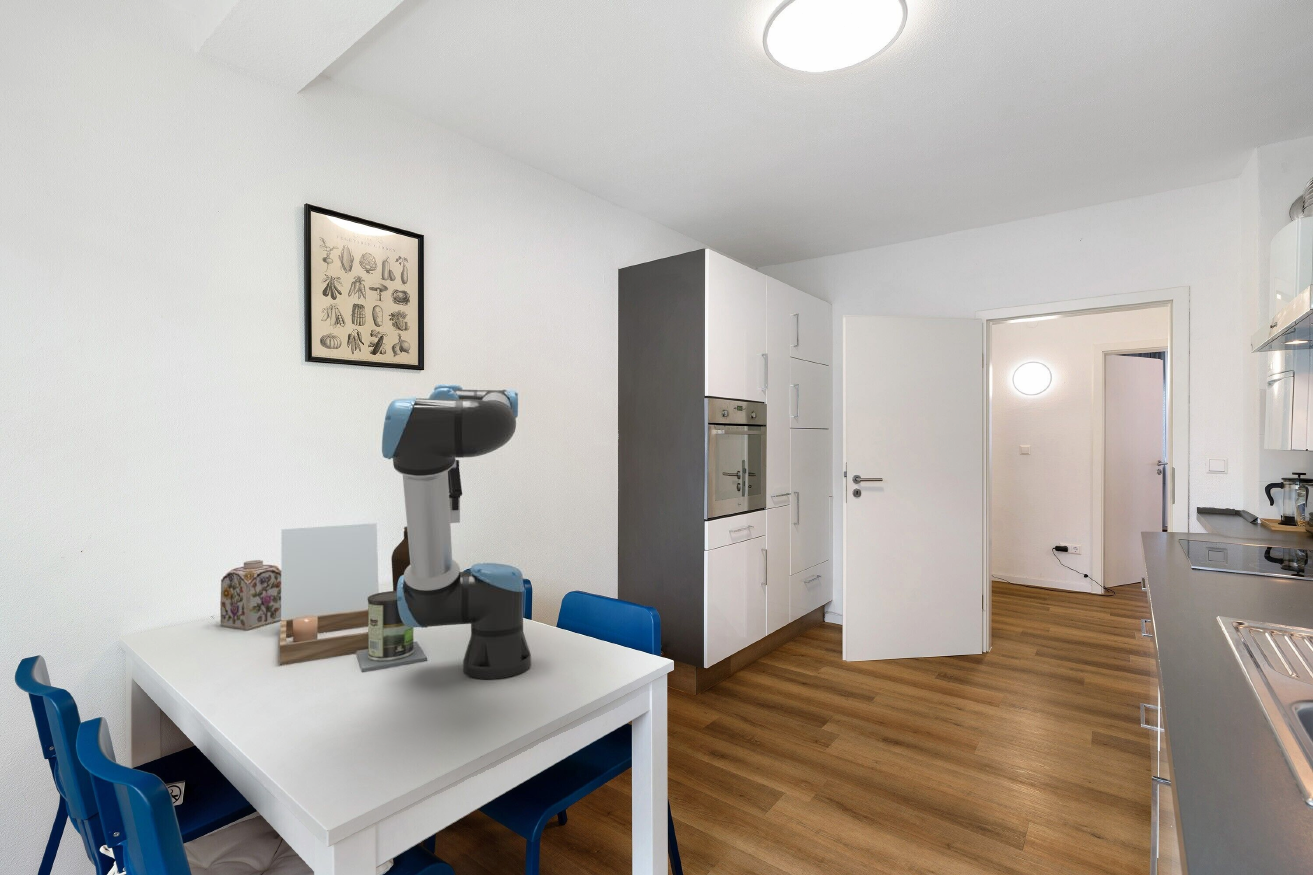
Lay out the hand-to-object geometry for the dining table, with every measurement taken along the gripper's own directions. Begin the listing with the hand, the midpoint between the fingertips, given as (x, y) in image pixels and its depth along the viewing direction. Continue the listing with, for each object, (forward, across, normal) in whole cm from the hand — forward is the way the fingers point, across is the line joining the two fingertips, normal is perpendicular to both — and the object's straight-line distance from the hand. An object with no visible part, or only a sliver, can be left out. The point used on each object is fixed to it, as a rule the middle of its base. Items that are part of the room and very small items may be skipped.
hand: (448, 520), depth 167 cm
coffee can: (+30, +12, -16) cm, 36 cm away
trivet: (+31, +12, -16) cm, 37 cm away
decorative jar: (+31, -40, -46) cm, 68 cm away
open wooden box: (+31, -8, -27) cm, 42 cm away
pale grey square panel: (+14, -23, -27) cm, 39 cm away
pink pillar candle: (+31, -13, -34) cm, 47 cm away
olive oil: (+31, -38, -4) cm, 49 cm away
